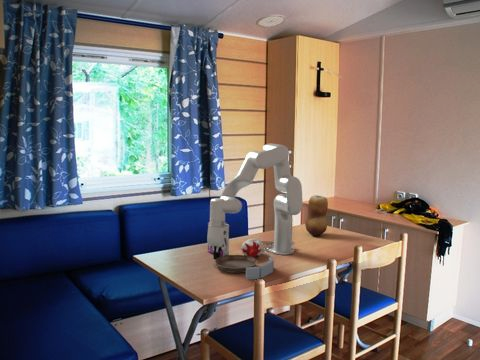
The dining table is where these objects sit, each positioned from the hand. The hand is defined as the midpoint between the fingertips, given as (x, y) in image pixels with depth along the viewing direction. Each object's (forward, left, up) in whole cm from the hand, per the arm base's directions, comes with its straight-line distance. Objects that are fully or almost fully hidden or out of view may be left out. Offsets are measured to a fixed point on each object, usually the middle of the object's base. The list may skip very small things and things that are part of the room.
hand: (216, 259), depth 216 cm
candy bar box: (-11, -8, -2) cm, 14 cm away
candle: (-18, +9, -2) cm, 20 cm away
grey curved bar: (0, +27, -1) cm, 27 cm away
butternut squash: (-79, +16, -2) cm, 81 cm away
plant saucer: (0, +12, -2) cm, 12 cm away
